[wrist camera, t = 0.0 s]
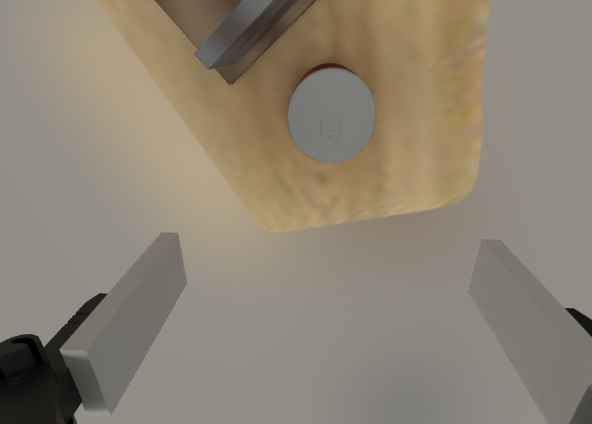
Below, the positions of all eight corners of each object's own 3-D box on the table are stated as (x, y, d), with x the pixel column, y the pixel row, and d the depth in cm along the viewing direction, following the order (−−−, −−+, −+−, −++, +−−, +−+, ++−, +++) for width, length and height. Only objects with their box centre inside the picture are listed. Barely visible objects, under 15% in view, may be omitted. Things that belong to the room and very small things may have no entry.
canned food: (307, 144, 41) (302, 174, 31) (285, 76, 38) (273, 86, 28) (370, 124, 40) (386, 149, 30) (352, 52, 37) (364, 53, 27)
